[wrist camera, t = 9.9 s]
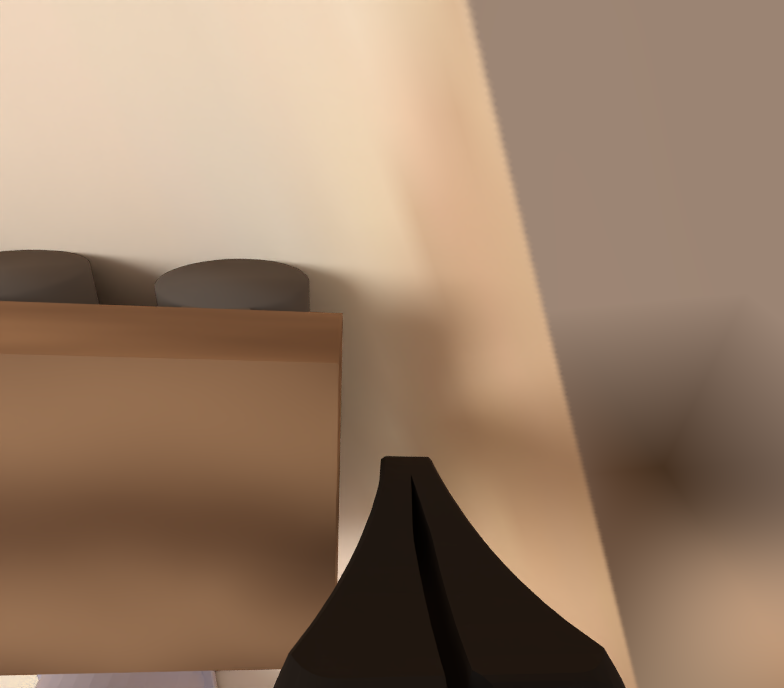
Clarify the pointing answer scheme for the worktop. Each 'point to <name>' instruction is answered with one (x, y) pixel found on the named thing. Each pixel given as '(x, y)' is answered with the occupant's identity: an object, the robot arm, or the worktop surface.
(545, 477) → the worktop surface
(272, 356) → the slab
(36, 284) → the roller bed
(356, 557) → the robot arm
